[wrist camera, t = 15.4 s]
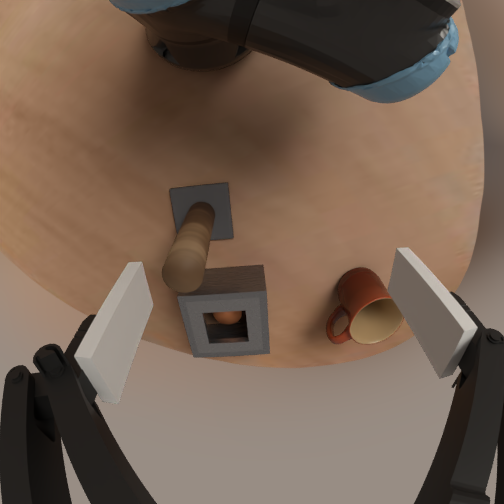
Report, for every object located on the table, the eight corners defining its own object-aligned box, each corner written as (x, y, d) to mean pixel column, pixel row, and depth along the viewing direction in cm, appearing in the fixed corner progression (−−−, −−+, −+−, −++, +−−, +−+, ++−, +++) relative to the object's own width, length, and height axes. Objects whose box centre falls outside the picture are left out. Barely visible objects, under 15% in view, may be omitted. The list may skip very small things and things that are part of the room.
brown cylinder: (186, 203, 40) (157, 258, 25) (213, 200, 40) (199, 254, 25) (190, 228, 41) (166, 293, 27) (216, 226, 41) (206, 291, 27)
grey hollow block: (185, 270, 45) (177, 296, 39) (263, 264, 45) (266, 290, 39) (198, 328, 50) (193, 357, 44) (266, 324, 50) (269, 353, 44)
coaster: (170, 188, 39) (169, 189, 39) (227, 182, 39) (227, 183, 39) (179, 241, 43) (178, 242, 42) (233, 236, 43) (233, 238, 42)
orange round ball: (212, 291, 46) (210, 302, 43) (240, 289, 46) (240, 301, 43) (216, 313, 48) (215, 325, 45) (242, 311, 48) (243, 323, 45)
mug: (367, 250, 44) (394, 285, 35) (386, 286, 48) (411, 323, 39) (305, 290, 47) (318, 333, 38) (329, 322, 51) (344, 363, 42)
